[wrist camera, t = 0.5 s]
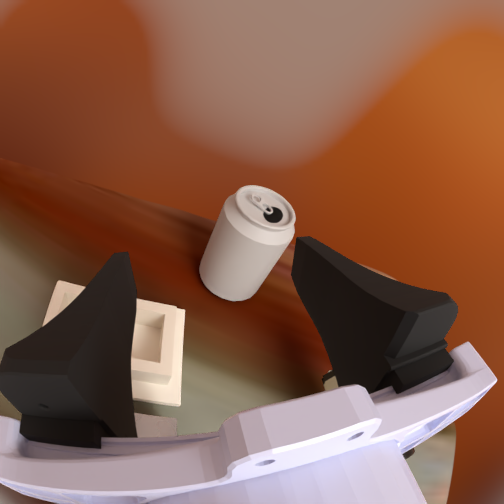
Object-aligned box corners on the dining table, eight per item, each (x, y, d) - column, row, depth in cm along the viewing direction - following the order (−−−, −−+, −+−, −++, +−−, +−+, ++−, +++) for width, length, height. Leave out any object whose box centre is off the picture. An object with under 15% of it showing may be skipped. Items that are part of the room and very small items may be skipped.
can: (238, 317, 33) (286, 245, 25) (184, 278, 33) (214, 197, 25) (265, 278, 38) (311, 210, 30) (218, 245, 39) (252, 171, 31)
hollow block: (178, 406, 23) (186, 396, 21) (33, 374, 19) (20, 359, 16) (183, 314, 30) (191, 294, 27) (58, 287, 26) (53, 263, 23)
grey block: (167, 464, 19) (176, 464, 15) (76, 448, 17) (60, 443, 13) (167, 428, 22) (176, 418, 18) (79, 412, 19) (66, 397, 15)
